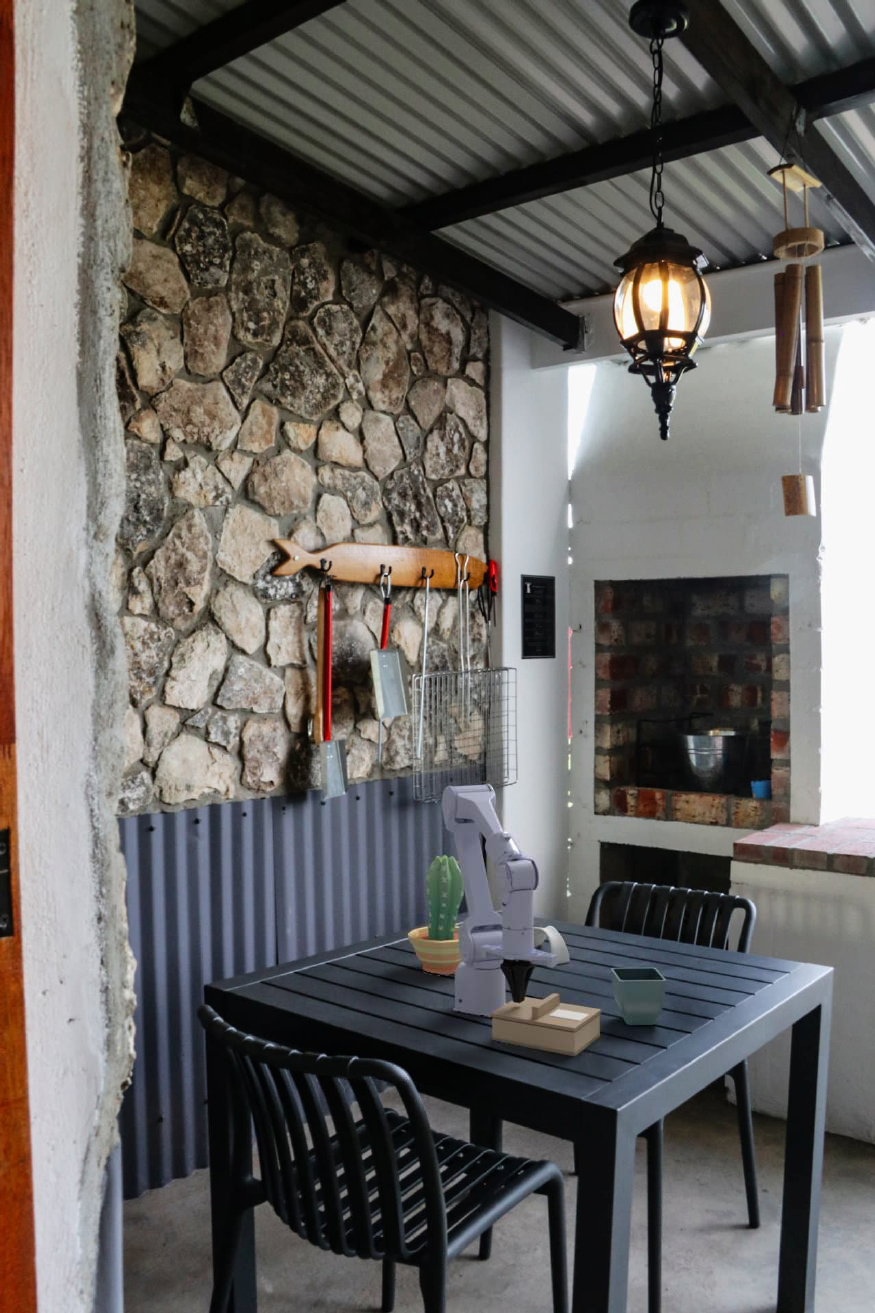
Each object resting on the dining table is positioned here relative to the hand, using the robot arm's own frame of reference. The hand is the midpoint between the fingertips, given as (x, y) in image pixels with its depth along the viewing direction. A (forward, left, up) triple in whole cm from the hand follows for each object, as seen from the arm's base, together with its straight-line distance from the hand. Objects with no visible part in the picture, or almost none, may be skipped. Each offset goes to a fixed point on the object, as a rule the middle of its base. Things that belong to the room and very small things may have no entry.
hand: (518, 1001), depth 196 cm
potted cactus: (-34, +29, -6) cm, 45 cm away
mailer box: (+5, 0, -6) cm, 8 cm away
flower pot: (+16, +17, -6) cm, 24 cm away
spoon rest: (-22, +53, -6) cm, 57 cm away
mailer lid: (+5, 0, -2) cm, 6 cm away
